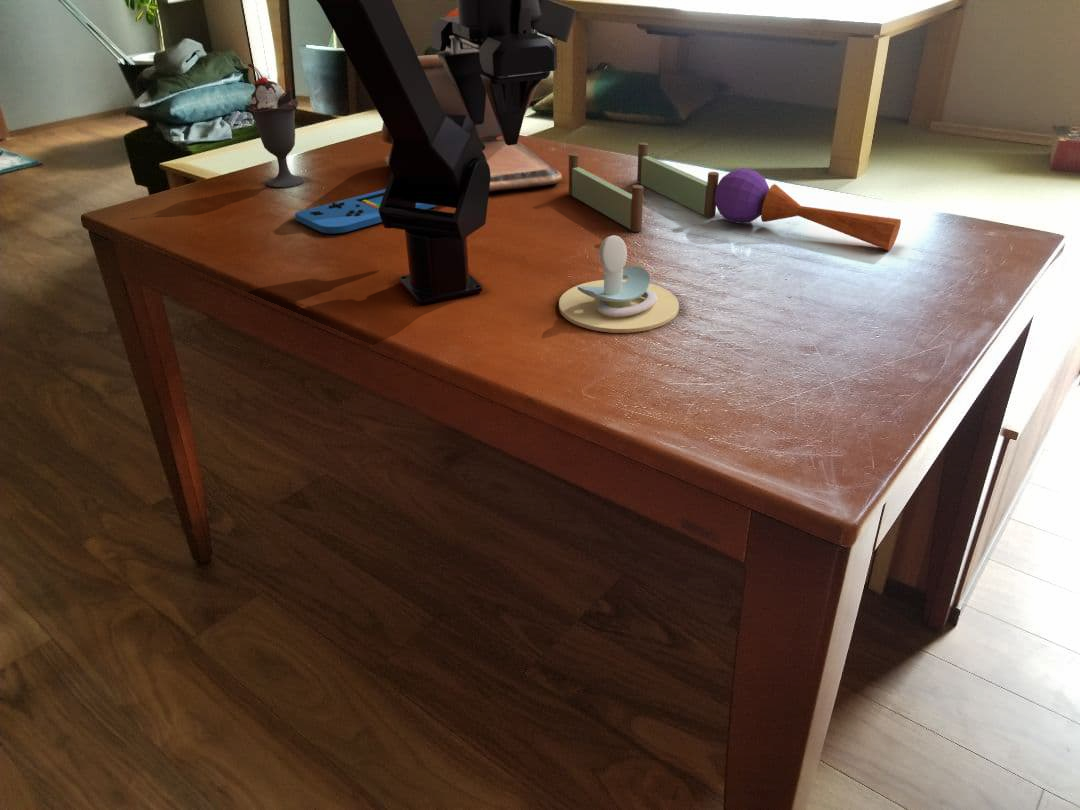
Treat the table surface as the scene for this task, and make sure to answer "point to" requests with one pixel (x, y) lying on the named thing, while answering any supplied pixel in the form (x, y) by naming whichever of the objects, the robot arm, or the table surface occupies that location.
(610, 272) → the pacifier
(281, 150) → the sundae
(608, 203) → the rack
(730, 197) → the kendama
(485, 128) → the case
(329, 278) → the table surface
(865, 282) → the table surface
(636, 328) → the coaster
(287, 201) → the table surface
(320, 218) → the handheld gaming device
